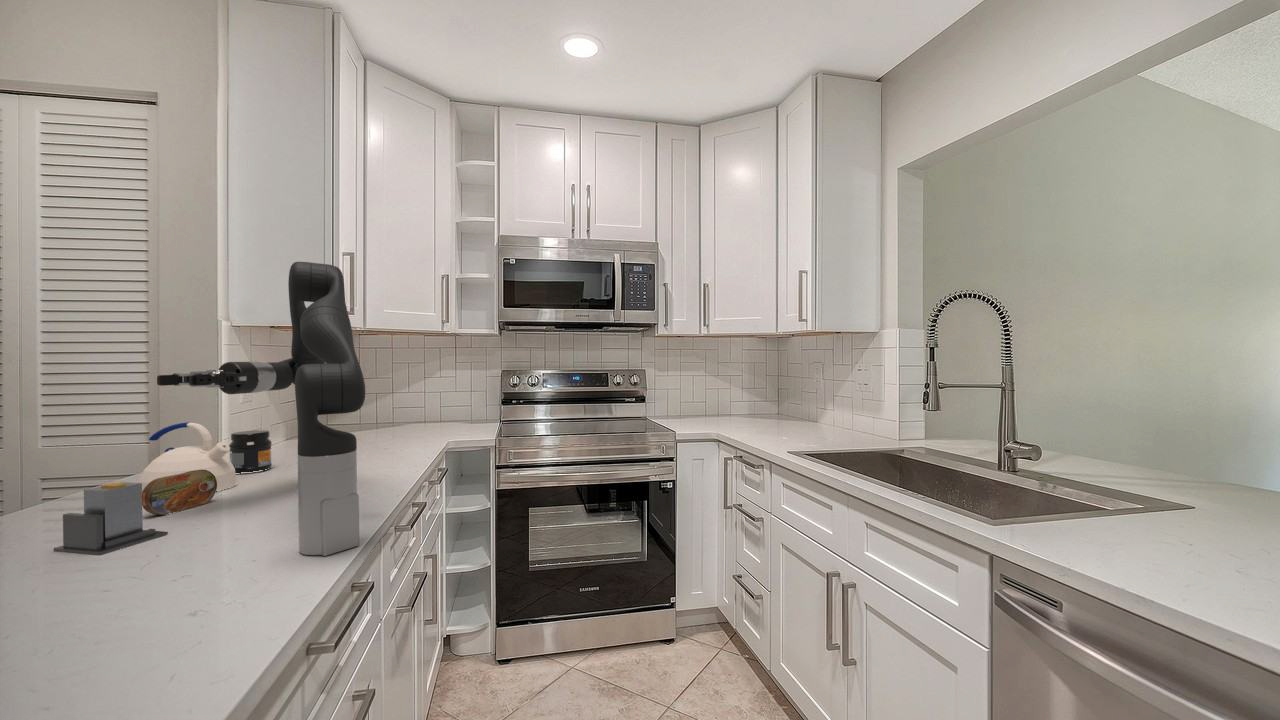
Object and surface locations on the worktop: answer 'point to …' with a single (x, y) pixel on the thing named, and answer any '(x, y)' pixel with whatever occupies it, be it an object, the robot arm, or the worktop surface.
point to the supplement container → (250, 451)
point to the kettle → (191, 459)
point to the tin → (178, 492)
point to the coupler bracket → (96, 535)
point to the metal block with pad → (116, 508)
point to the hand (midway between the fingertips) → (174, 380)
